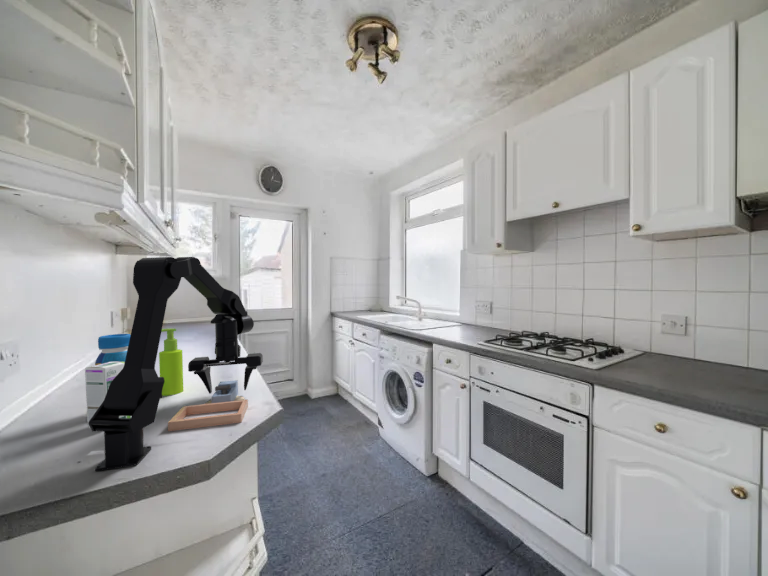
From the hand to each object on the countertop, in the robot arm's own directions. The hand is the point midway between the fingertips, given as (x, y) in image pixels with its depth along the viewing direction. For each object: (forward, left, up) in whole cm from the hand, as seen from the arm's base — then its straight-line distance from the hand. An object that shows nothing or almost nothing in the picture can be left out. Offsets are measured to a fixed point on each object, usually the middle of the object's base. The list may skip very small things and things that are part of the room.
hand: (228, 391), depth 93 cm
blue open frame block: (-4, 0, -1) cm, 4 cm away
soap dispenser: (+9, +18, -2) cm, 20 cm away
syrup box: (-11, +24, -2) cm, 26 cm away
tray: (-16, +1, -2) cm, 16 cm away
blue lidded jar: (-1, +27, -2) cm, 27 cm away
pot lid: (-5, 0, -2) cm, 5 cm away
